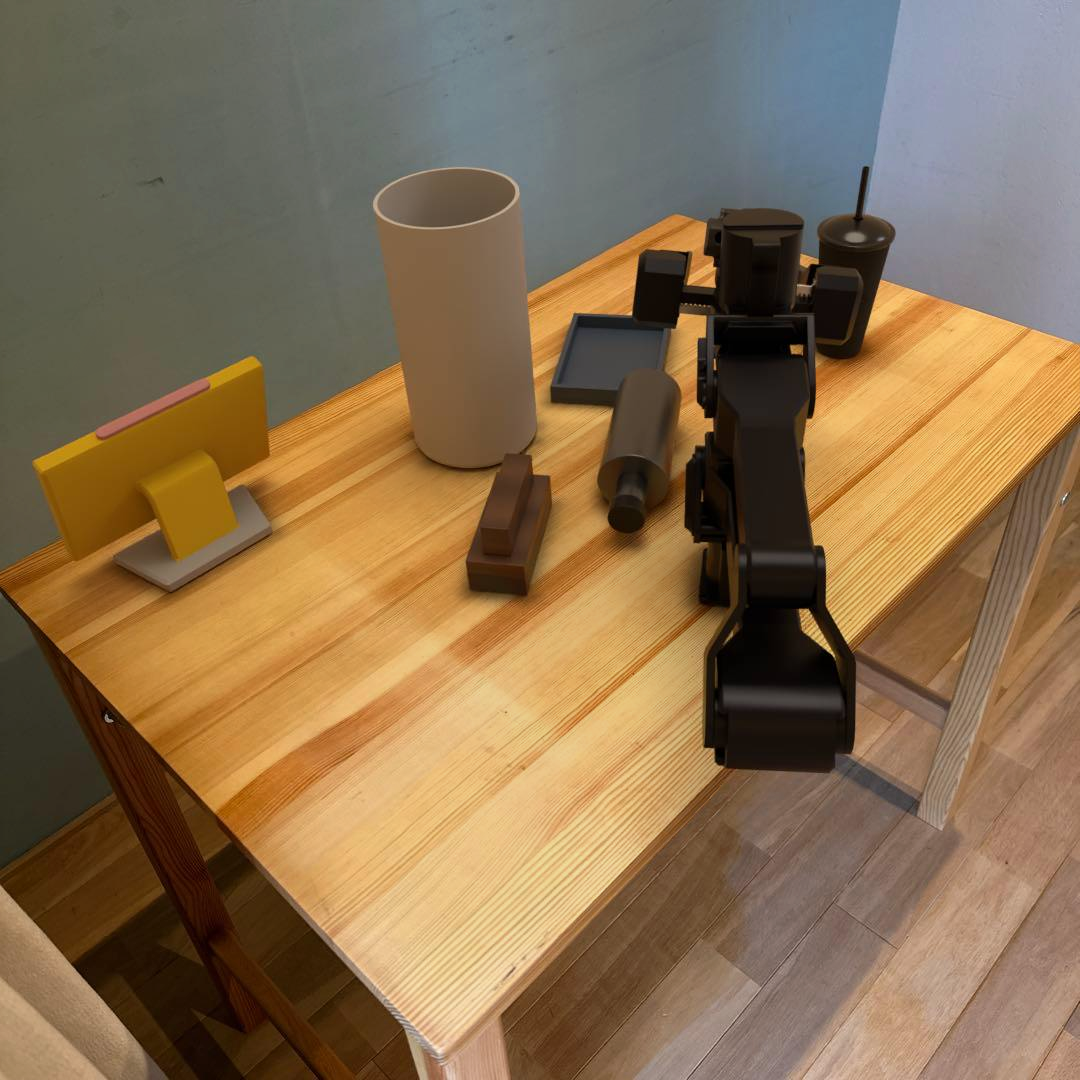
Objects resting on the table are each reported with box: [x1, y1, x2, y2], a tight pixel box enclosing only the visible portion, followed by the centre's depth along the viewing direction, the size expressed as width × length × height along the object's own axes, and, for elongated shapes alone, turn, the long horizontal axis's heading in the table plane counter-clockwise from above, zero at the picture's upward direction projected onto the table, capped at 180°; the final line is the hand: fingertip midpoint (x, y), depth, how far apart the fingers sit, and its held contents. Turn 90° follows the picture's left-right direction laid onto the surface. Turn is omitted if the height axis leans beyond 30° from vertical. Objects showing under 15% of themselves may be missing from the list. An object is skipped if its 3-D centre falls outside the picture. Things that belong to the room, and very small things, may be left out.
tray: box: [549, 312, 672, 407], centre depth 109 cm, size 15×11×2 cm
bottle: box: [596, 369, 683, 535], centre depth 93 cm, size 6×19×6 cm, turn 169°
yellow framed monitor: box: [31, 355, 273, 593], centre depth 87 cm, size 20×8×16 cm, turn 134°
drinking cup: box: [815, 165, 897, 360], centre depth 103 cm, size 8×8×20 cm
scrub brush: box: [465, 453, 553, 596], centre depth 87 cm, size 12×5×6 cm, turn 169°
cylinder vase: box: [372, 166, 538, 469], centre depth 94 cm, size 12×12×25 cm
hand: (739, 260), depth 92 cm, fingers open, 9 cm apart
